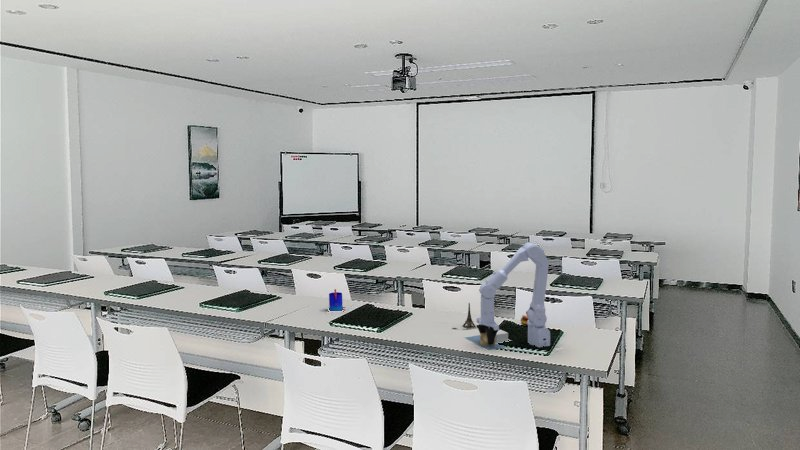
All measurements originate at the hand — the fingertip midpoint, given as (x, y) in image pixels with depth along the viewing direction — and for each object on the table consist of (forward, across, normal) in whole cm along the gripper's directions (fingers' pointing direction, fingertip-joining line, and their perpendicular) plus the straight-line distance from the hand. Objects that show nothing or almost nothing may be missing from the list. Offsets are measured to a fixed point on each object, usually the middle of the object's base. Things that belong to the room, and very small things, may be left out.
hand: (487, 342), depth 243 cm
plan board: (+2, -3, +4) cm, 5 cm away
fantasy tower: (+2, -92, -38) cm, 100 cm away
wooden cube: (+1, 0, 0) cm, 1 cm away
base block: (+1, -3, +8) cm, 8 cm away
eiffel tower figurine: (+2, -30, +8) cm, 31 cm away
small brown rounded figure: (+2, -20, +38) cm, 42 cm away
